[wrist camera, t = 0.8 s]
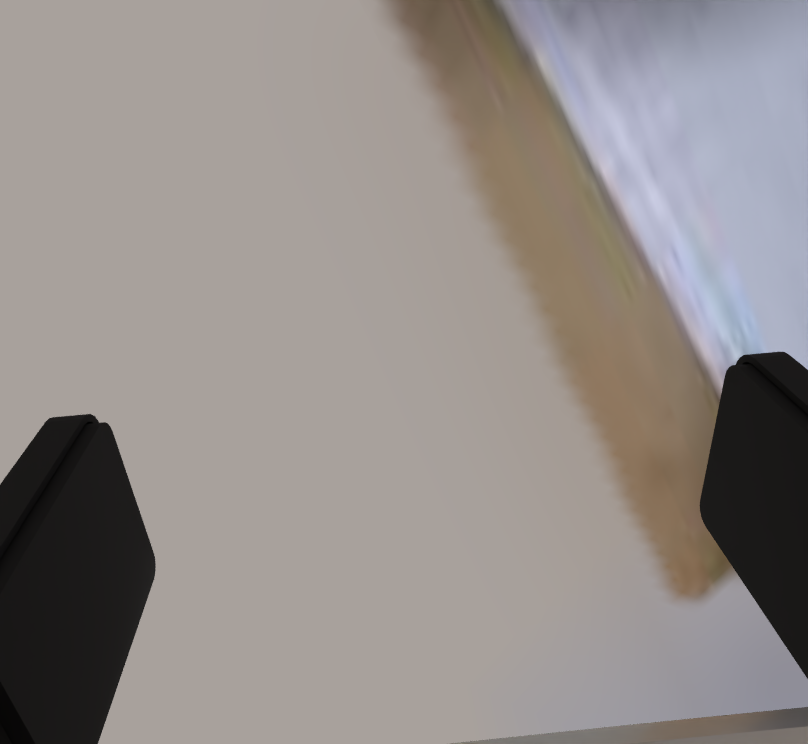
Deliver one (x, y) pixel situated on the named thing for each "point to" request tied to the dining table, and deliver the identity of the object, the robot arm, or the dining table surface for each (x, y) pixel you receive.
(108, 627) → the robot arm
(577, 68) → the dining table surface
